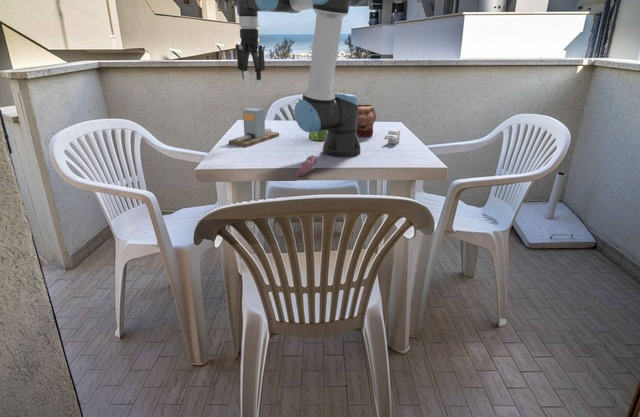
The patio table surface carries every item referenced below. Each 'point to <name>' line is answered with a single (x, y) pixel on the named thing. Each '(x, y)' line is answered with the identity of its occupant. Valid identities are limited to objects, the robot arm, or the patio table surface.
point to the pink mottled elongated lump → (307, 166)
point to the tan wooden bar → (251, 136)
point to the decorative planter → (365, 120)
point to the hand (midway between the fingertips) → (252, 87)
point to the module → (254, 122)
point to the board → (254, 140)
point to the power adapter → (393, 136)
